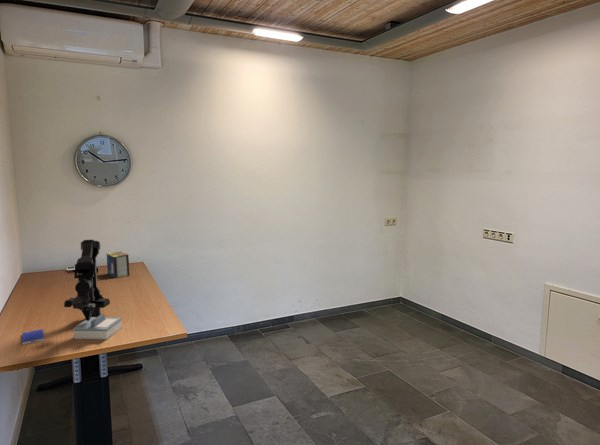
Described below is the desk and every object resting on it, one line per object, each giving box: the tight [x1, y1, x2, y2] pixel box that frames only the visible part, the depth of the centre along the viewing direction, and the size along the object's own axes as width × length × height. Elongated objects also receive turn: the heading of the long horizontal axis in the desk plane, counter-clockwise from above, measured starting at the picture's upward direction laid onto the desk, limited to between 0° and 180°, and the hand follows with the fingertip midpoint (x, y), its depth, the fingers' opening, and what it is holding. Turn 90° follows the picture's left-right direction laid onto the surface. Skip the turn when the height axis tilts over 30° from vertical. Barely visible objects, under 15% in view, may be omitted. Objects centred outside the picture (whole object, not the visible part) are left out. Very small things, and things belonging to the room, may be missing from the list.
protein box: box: [106, 251, 131, 279], centre depth 294 cm, size 10×15×16 cm
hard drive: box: [21, 328, 45, 345], centre depth 184 cm, size 2×8×12 cm
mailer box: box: [73, 319, 123, 341], centre depth 189 cm, size 14×15×4 cm
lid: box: [72, 314, 123, 331], centre depth 188 cm, size 14×15×3 cm
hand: (88, 320), depth 188 cm, fingers closed
